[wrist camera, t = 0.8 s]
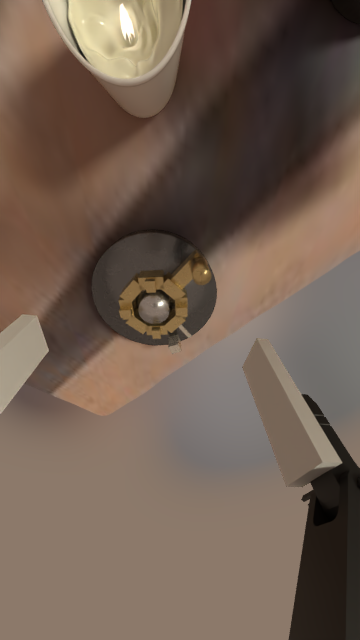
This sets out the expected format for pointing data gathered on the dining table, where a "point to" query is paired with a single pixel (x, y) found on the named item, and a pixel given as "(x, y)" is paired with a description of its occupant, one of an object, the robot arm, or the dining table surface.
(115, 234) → the dining table surface
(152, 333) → the brass lugged wrench
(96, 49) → the candle holder
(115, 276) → the bearing cap
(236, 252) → the dining table surface
